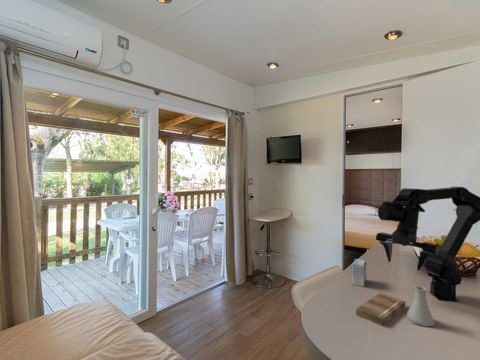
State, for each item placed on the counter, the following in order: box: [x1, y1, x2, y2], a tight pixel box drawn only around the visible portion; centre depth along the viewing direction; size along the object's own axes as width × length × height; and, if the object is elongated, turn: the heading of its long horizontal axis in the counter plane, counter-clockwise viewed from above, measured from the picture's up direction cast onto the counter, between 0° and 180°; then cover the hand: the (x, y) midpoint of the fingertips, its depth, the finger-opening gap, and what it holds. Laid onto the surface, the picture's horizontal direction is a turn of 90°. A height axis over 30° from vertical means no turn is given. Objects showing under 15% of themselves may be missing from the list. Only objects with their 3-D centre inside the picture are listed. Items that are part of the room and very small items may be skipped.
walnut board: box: [355, 292, 406, 327], centre depth 84 cm, size 18×8×2 cm, turn 129°
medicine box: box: [351, 258, 367, 288], centre depth 107 cm, size 8×4×9 cm, turn 148°
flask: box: [406, 285, 436, 327], centre depth 79 cm, size 7×7×10 cm
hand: (403, 265), depth 93 cm, fingers open, 9 cm apart
